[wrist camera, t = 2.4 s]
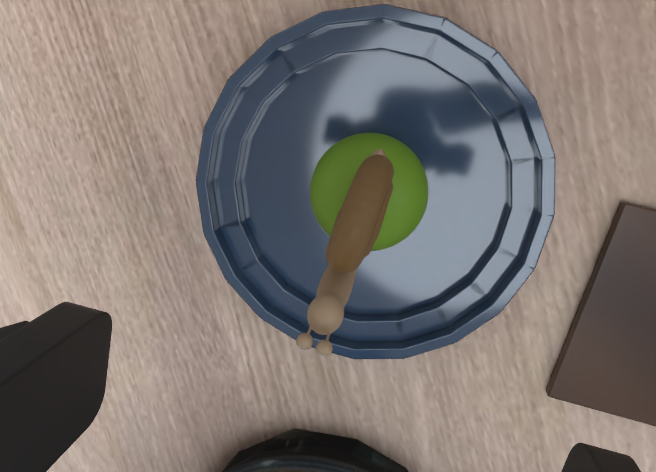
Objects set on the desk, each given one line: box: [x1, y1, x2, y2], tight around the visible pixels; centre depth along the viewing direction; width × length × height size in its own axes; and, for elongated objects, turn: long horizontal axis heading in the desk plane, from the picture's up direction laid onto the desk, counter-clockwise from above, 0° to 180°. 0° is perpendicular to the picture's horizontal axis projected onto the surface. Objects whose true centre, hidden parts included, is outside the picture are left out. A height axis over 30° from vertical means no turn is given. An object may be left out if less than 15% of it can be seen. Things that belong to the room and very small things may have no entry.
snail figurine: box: [296, 133, 428, 356], centre depth 22 cm, size 5×6×12 cm
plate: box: [196, 4, 555, 359], centre depth 27 cm, size 17×17×2 cm
